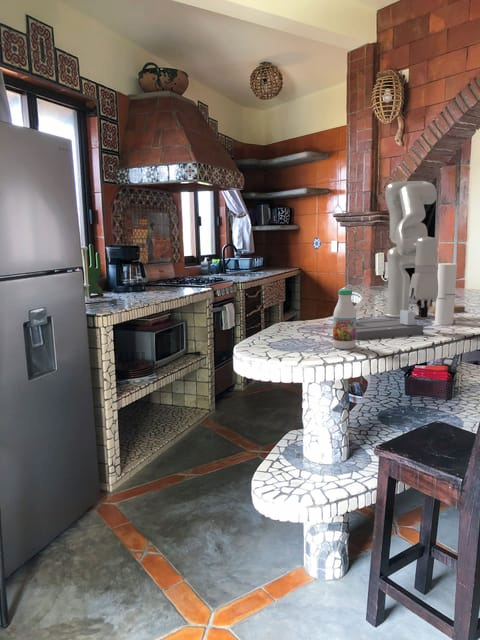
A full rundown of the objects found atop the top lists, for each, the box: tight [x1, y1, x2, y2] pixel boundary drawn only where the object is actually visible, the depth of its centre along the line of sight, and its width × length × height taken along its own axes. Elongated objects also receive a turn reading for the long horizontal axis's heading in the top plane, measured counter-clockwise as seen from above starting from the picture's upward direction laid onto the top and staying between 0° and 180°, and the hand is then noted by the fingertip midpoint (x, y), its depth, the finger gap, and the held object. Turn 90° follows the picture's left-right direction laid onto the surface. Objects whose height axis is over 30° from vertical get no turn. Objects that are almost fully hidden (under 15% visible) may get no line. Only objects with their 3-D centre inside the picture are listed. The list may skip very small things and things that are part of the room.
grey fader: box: [399, 309, 416, 325], centre depth 180 cm, size 5×3×5 cm, turn 15°
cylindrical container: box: [434, 262, 458, 326], centre depth 195 cm, size 7×7×25 cm
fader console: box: [356, 317, 424, 341], centre depth 183 cm, size 19×28×3 cm
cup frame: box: [417, 303, 466, 314], centre depth 227 cm, size 15×15×2 cm
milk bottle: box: [332, 288, 357, 350], centre depth 159 cm, size 8×8×20 cm
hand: (422, 317), depth 182 cm, fingers closed
